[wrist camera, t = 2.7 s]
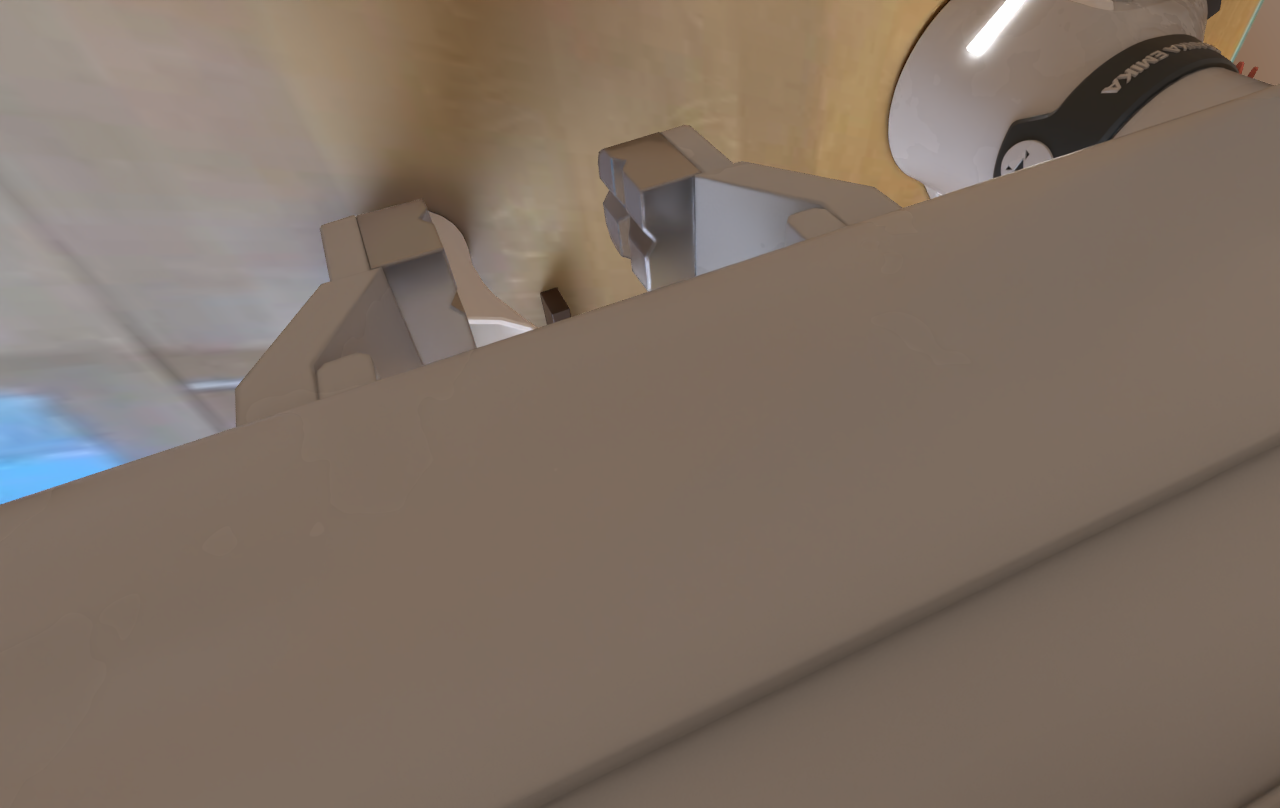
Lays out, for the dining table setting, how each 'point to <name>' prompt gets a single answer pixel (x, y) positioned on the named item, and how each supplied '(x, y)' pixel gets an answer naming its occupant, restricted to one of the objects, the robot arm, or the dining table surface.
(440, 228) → the cup
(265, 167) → the dining table surface
